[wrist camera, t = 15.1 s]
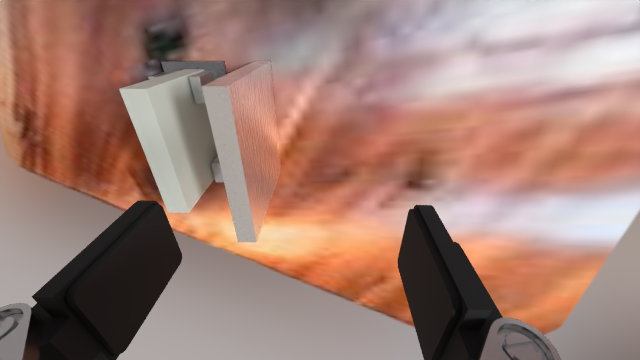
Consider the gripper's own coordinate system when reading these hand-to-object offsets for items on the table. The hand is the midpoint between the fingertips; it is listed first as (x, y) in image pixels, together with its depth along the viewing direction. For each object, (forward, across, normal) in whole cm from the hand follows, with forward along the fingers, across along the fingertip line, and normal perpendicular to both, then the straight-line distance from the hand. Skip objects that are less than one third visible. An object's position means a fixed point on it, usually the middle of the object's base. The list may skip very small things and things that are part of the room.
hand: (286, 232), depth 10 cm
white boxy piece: (+28, +13, +5) cm, 32 cm away
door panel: (+28, +16, +5) cm, 32 cm away
